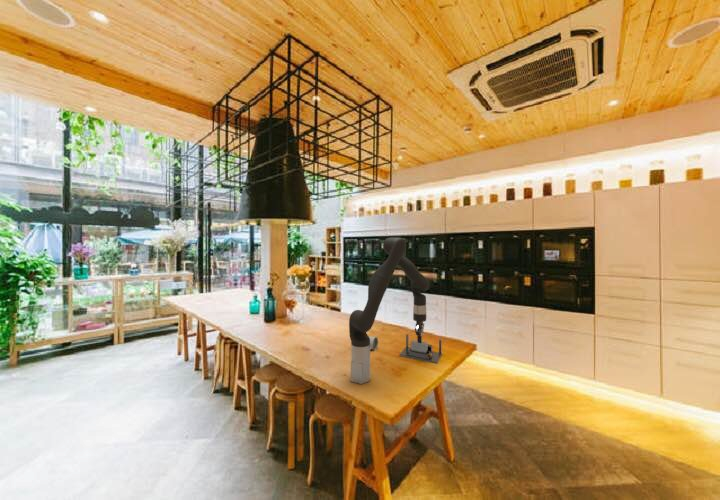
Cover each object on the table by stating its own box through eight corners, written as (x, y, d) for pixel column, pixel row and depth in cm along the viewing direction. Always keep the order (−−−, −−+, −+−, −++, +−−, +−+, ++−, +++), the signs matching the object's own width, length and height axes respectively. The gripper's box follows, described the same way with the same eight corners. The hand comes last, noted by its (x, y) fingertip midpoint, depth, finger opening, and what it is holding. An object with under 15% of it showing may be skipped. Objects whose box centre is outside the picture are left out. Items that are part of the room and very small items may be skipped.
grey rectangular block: (426, 358, 153) (426, 344, 153) (411, 355, 157) (411, 341, 157) (427, 356, 156) (427, 342, 156) (412, 353, 160) (412, 340, 160)
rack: (437, 363, 148) (437, 347, 148) (399, 356, 158) (399, 340, 158) (441, 354, 161) (441, 339, 161) (406, 348, 171) (406, 334, 171)
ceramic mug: (367, 345, 176) (367, 333, 176) (378, 347, 172) (378, 335, 172) (359, 350, 167) (359, 338, 167) (370, 353, 163) (370, 340, 163)
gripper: (423, 315, 149) (423, 346, 149) (428, 310, 161) (428, 339, 161) (410, 314, 152) (410, 344, 153) (416, 309, 164) (416, 337, 165)
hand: (419, 341), depth 157 cm, fingers closed
